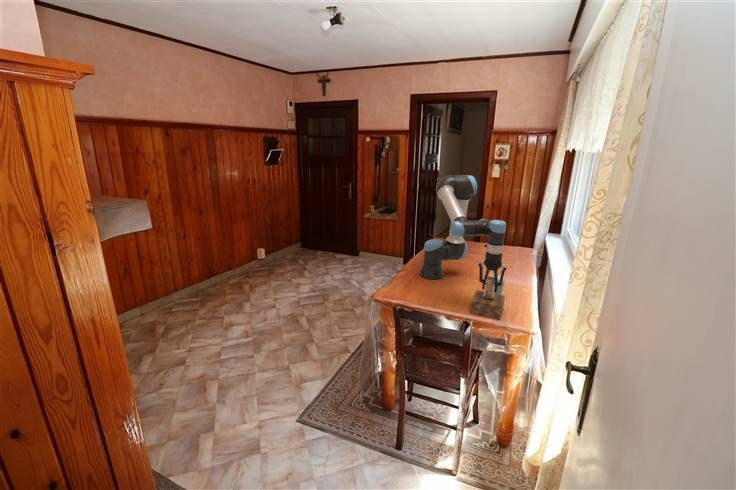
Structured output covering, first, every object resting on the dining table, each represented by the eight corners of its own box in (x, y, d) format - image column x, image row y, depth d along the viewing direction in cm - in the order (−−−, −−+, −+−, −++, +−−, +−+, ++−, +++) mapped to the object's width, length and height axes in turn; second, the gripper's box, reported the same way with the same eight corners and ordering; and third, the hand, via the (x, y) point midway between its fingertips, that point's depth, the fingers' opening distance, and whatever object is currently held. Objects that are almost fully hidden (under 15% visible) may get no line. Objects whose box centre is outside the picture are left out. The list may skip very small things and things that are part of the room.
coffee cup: (498, 293, 191) (501, 274, 188) (505, 300, 183) (508, 280, 179) (484, 293, 191) (486, 274, 187) (489, 300, 182) (492, 280, 179)
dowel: (483, 303, 169) (487, 278, 165) (485, 301, 172) (488, 276, 168) (490, 305, 168) (493, 279, 164) (491, 302, 170) (494, 277, 166)
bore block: (470, 313, 168) (471, 300, 166) (475, 302, 180) (476, 290, 178) (499, 319, 162) (501, 306, 160) (503, 308, 174) (504, 295, 172)
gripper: (475, 251, 163) (470, 295, 169) (511, 257, 155) (504, 302, 162) (478, 247, 169) (473, 290, 176) (513, 252, 162) (506, 296, 168)
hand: (488, 296), depth 169 cm, fingers closed on dowel, 3 cm apart
